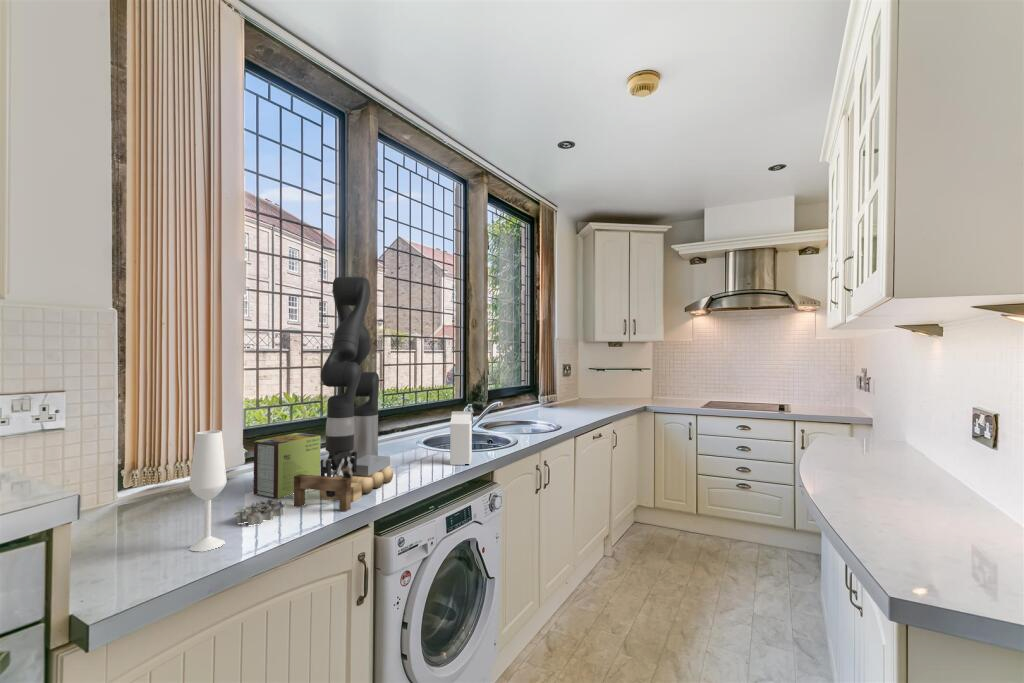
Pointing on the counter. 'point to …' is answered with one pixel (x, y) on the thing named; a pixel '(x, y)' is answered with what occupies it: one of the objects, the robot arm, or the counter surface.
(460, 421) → the milk carton
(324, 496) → the oak skid
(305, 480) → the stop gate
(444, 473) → the counter surface
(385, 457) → the slab
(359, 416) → the robot arm
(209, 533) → the champagne flute
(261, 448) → the protein box
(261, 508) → the egg carton
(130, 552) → the counter surface
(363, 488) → the roller bed
